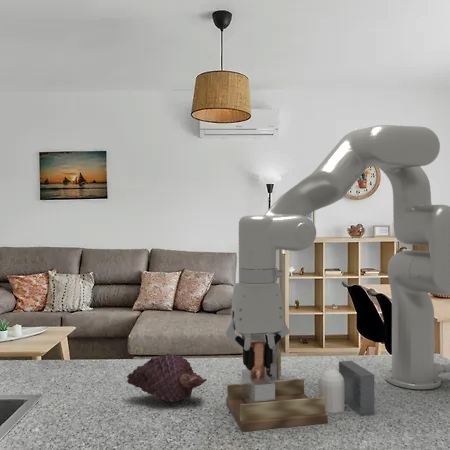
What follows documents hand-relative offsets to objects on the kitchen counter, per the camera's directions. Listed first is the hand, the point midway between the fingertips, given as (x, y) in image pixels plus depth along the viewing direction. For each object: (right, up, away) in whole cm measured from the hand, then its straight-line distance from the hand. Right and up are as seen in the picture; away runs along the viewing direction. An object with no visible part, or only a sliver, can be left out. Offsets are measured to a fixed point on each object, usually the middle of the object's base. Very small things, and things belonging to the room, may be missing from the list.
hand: (257, 366), depth 100 cm
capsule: (+16, -10, +4) cm, 19 cm away
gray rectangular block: (+21, -10, +5) cm, 24 cm away
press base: (+3, -10, +1) cm, 10 cm away
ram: (0, -8, 0) cm, 8 cm away
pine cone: (-19, -10, +8) cm, 23 cm away
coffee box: (+4, -10, +21) cm, 24 cm away
